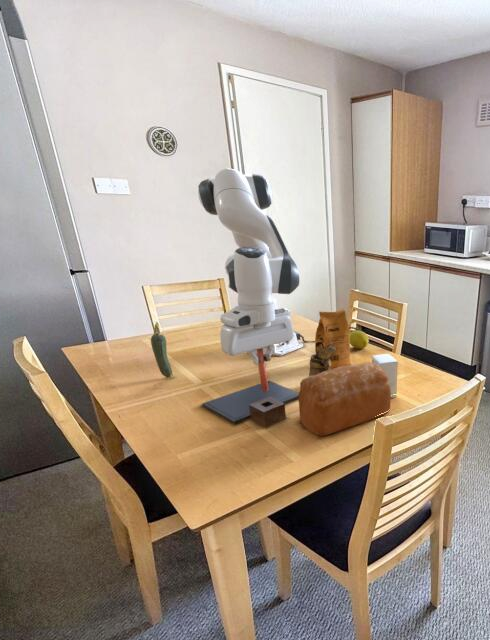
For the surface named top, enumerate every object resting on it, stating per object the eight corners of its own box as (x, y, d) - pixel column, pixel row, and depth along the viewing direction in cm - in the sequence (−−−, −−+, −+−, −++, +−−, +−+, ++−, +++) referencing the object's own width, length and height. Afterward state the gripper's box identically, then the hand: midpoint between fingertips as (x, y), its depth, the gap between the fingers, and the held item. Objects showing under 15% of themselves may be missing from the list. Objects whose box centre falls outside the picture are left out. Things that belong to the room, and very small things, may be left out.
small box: (396, 397, 137) (398, 361, 132) (379, 400, 135) (380, 363, 129) (387, 387, 144) (388, 353, 139) (370, 390, 141) (371, 355, 136)
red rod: (266, 390, 117) (259, 343, 112) (270, 391, 116) (263, 344, 111) (260, 391, 115) (253, 345, 110) (264, 393, 114) (257, 346, 109)
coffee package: (313, 363, 161) (310, 309, 152) (341, 358, 168) (340, 305, 159) (323, 372, 154) (321, 315, 145) (352, 366, 161) (352, 311, 152)
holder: (271, 411, 124) (269, 396, 122) (286, 418, 120) (284, 403, 118) (250, 419, 118) (248, 404, 116) (265, 427, 115) (264, 412, 113)
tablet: (269, 383, 142) (269, 380, 142) (301, 397, 134) (301, 394, 133) (202, 406, 124) (201, 403, 124) (234, 424, 116) (234, 421, 115)
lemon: (372, 350, 180) (372, 332, 177) (357, 353, 175) (357, 335, 172) (359, 343, 187) (359, 326, 184) (344, 346, 183) (344, 329, 179)
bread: (394, 413, 127) (396, 366, 121) (320, 440, 110) (317, 388, 104) (368, 397, 136) (368, 353, 130) (295, 420, 119) (292, 371, 113)
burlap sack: (318, 399, 133) (316, 347, 126) (303, 384, 143) (300, 335, 136) (343, 393, 138) (342, 343, 130) (327, 379, 148) (325, 332, 140)
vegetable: (167, 381, 139) (154, 324, 131) (156, 380, 140) (143, 323, 131) (176, 377, 143) (165, 321, 135) (165, 375, 144) (153, 320, 135)
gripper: (282, 304, 116) (286, 350, 121) (213, 317, 100) (221, 369, 106) (297, 308, 113) (300, 355, 118) (228, 322, 97) (235, 375, 103)
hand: (262, 362), depth 112 cm, fingers closed on red rod, 2 cm apart
